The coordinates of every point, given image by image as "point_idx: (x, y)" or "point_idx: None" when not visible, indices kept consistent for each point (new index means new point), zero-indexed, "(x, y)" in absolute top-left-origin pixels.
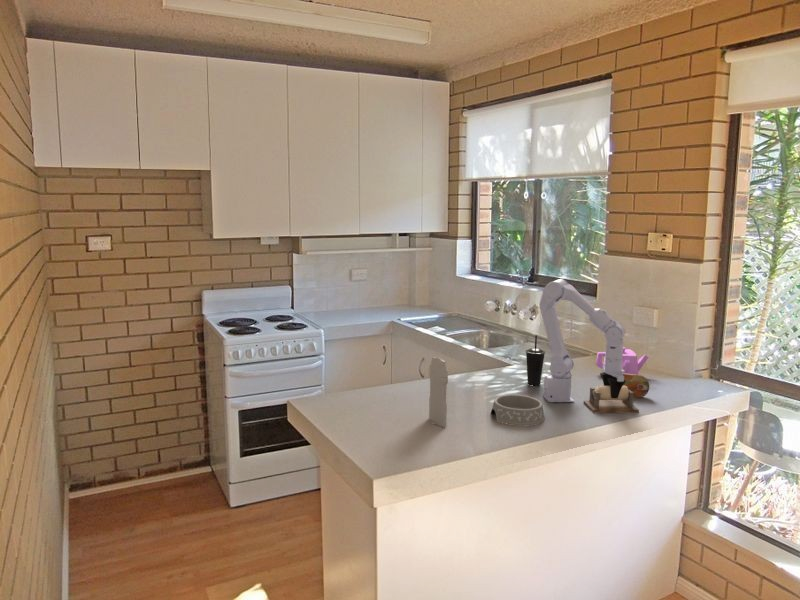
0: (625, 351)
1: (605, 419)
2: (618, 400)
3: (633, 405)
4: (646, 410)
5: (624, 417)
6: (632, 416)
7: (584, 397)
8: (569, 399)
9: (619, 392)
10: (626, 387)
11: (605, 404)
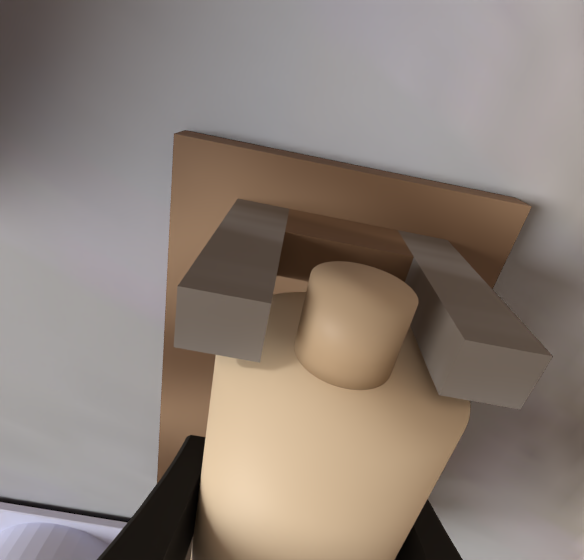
0: None
1: (512, 517)
2: (173, 245)
3: (380, 177)
4: (503, 44)
5: (551, 396)
6: (571, 325)
7: (13, 418)
8: (103, 541)
9: (459, 554)
10: (414, 474)
11: None
